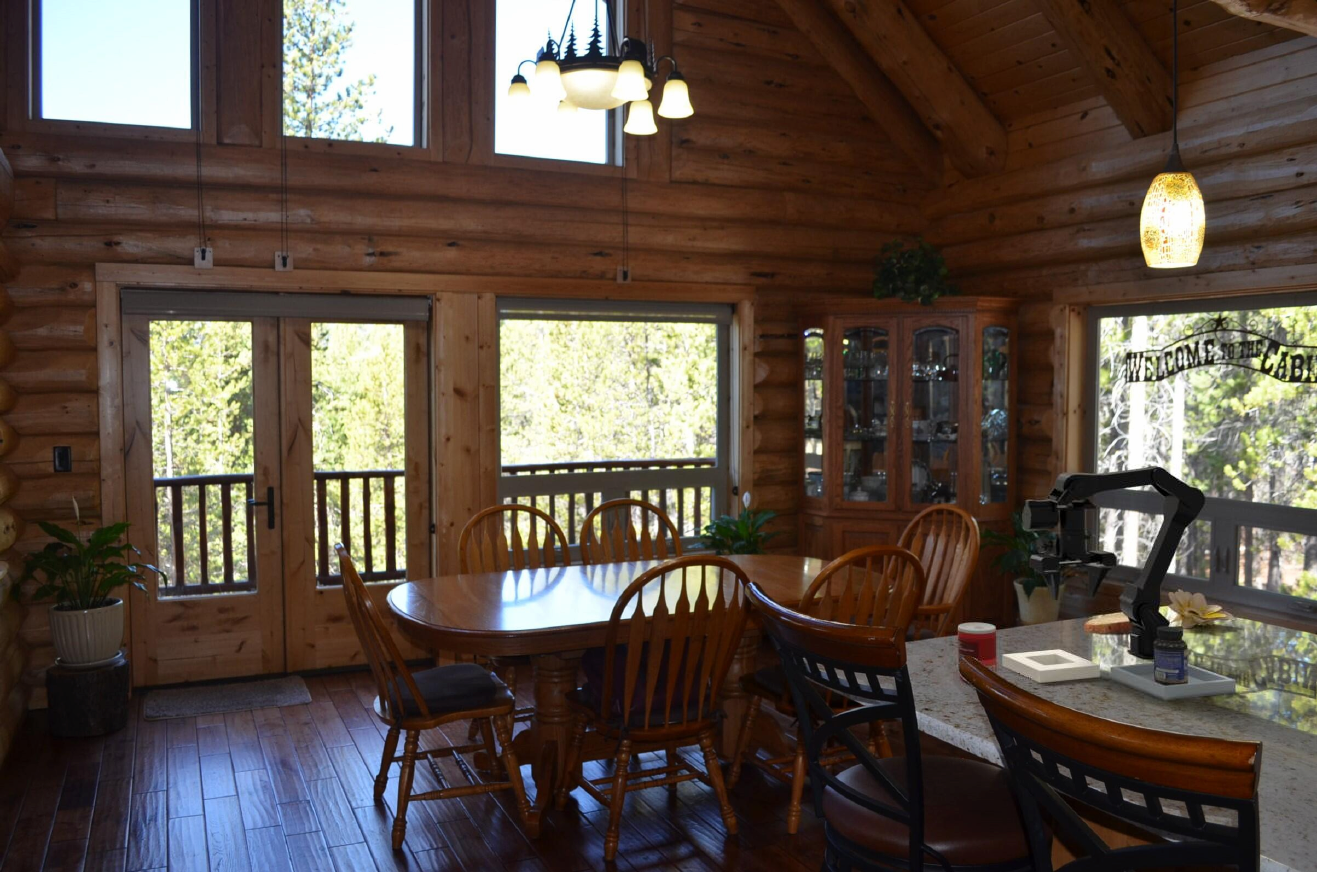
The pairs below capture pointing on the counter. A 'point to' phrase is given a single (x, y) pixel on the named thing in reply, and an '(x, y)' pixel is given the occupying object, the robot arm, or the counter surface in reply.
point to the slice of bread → (1109, 624)
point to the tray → (1197, 685)
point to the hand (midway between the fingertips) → (1073, 598)
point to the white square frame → (1051, 665)
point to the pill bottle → (1170, 657)
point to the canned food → (978, 643)
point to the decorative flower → (1195, 610)
